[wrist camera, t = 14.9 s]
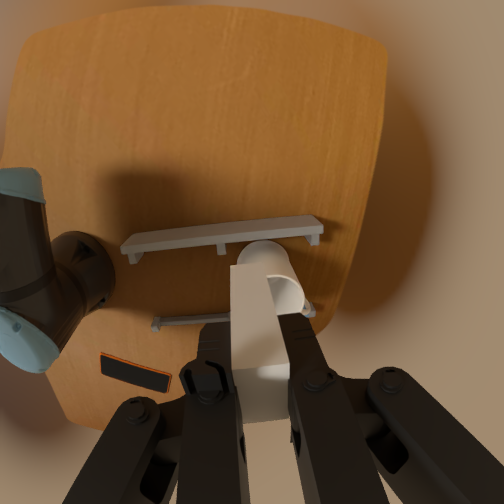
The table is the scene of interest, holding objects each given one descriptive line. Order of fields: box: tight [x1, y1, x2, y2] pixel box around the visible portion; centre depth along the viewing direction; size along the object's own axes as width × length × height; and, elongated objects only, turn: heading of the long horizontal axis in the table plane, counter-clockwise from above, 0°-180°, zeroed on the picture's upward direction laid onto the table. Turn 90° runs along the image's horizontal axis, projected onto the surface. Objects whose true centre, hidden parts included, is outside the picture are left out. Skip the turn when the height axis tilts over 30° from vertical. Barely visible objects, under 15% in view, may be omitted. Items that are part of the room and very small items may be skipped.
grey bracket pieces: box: [120, 215, 323, 332], centre depth 42 cm, size 29×17×6 cm, turn 95°
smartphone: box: [100, 352, 171, 393], centre depth 53 cm, size 8×17×1 cm, turn 71°
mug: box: [237, 240, 311, 315], centre depth 40 cm, size 12×8×12 cm
